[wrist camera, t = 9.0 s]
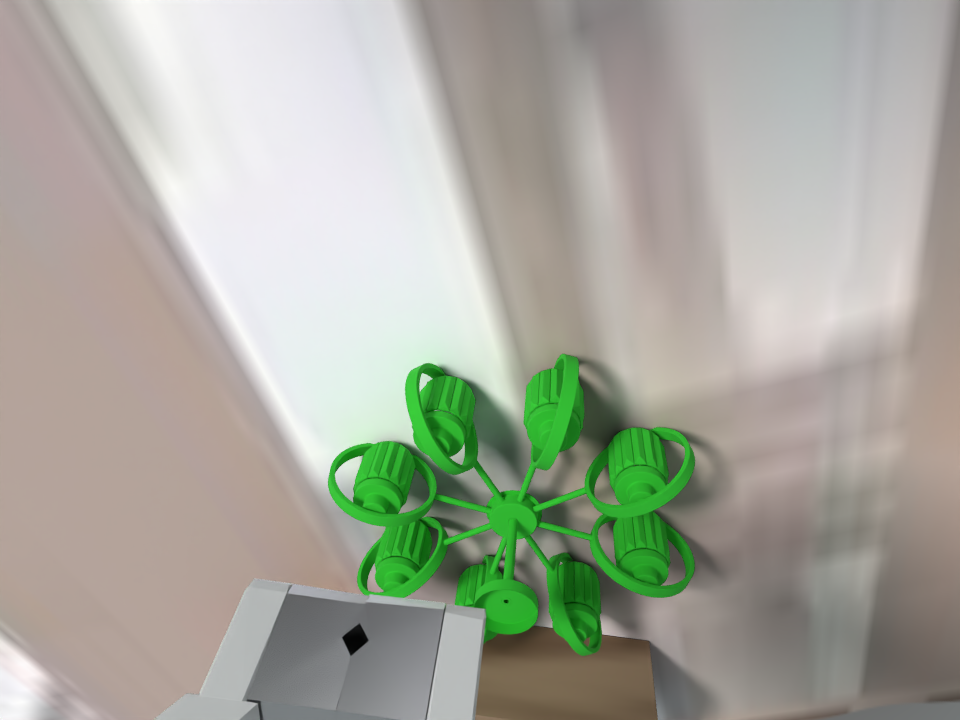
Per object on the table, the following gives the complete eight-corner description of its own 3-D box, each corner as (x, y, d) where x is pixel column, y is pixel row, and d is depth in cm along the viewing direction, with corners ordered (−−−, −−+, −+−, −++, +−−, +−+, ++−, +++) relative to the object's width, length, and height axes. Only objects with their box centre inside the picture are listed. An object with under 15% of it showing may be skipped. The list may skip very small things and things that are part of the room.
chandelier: (599, 261, 27) (608, 362, 21) (753, 545, 33) (794, 686, 27) (271, 417, 32) (204, 535, 26) (457, 640, 38) (437, 777, 32)
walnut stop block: (273, 592, 37) (217, 724, 31) (649, 641, 36) (665, 787, 30) (278, 646, 39) (226, 781, 33) (633, 694, 38) (646, 841, 32)
